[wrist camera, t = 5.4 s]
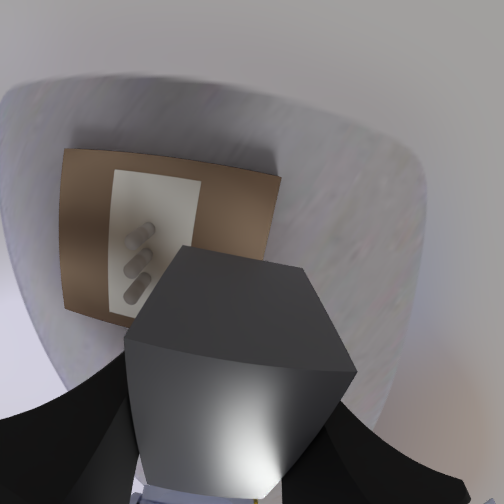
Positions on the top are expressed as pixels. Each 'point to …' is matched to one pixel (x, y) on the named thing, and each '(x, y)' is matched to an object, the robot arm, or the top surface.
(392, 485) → the robot arm
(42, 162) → the top surface
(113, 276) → the pin board
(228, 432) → the block
